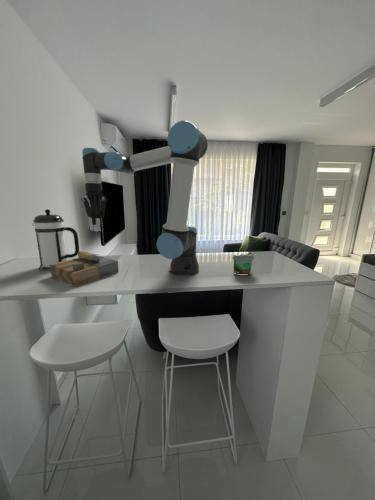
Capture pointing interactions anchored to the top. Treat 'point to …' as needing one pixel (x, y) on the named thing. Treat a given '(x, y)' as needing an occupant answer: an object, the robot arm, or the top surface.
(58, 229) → the coffee press
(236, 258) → the food container
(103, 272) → the slotted wooden block
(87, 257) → the lock bar
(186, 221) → the robot arm
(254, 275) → the top surface
